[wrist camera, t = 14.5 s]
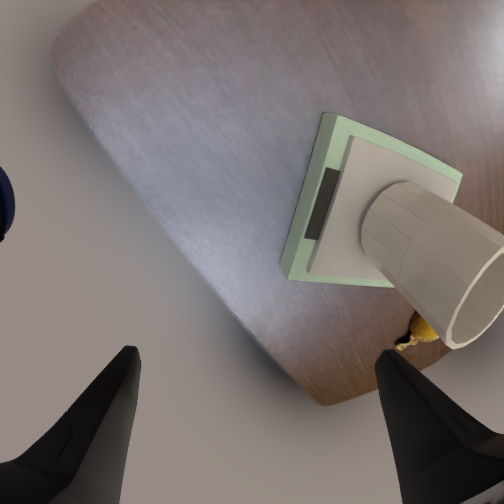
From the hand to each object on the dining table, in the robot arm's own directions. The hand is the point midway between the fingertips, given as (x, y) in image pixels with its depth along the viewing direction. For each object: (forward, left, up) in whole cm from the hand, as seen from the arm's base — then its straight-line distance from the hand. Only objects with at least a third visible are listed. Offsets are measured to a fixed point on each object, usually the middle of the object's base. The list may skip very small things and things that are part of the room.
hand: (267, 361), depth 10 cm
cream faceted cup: (+12, +3, -10) cm, 16 cm away
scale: (+12, +3, -13) cm, 18 cm away
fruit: (+27, -10, -13) cm, 31 cm away
